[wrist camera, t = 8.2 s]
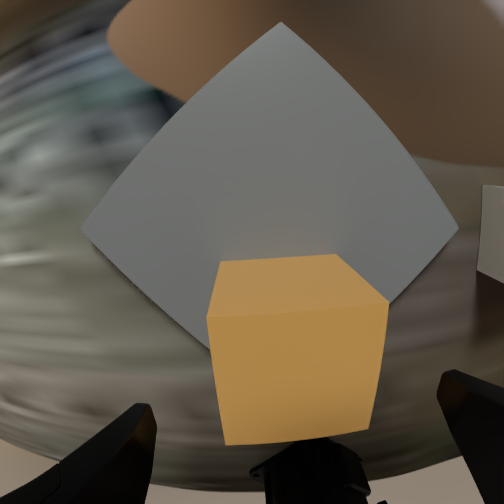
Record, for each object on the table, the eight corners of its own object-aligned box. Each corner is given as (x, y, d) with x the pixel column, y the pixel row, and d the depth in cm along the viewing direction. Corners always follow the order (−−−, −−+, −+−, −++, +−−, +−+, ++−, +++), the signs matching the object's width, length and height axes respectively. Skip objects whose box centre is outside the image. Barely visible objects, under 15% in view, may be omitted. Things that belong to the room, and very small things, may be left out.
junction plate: (274, 388, 18) (282, 444, 13) (89, 225, 15) (41, 243, 11) (447, 224, 16) (500, 241, 11) (278, 31, 13) (290, -16, 9)
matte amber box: (332, 352, 16) (368, 428, 10) (230, 361, 16) (225, 445, 10) (335, 253, 15) (389, 302, 9) (220, 261, 15) (206, 317, 9)
